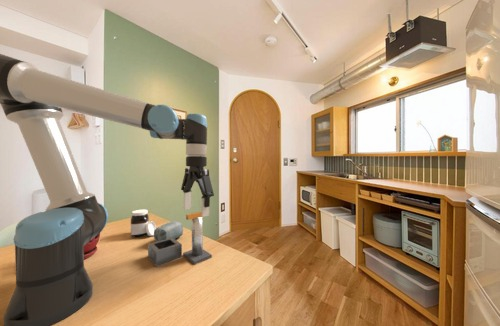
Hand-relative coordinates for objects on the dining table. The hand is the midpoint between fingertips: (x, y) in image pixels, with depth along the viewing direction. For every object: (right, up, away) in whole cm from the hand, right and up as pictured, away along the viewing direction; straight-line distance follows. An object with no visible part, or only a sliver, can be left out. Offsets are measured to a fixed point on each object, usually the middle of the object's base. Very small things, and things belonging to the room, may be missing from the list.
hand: (195, 212), depth 71 cm
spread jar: (-32, -17, +22) cm, 42 cm away
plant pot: (-45, -17, +1) cm, 48 cm away
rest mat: (0, -17, 0) cm, 17 cm away
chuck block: (-12, -17, 0) cm, 21 cm away
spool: (-16, -17, +15) cm, 28 cm away
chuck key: (+1, -16, 0) cm, 16 cm away
